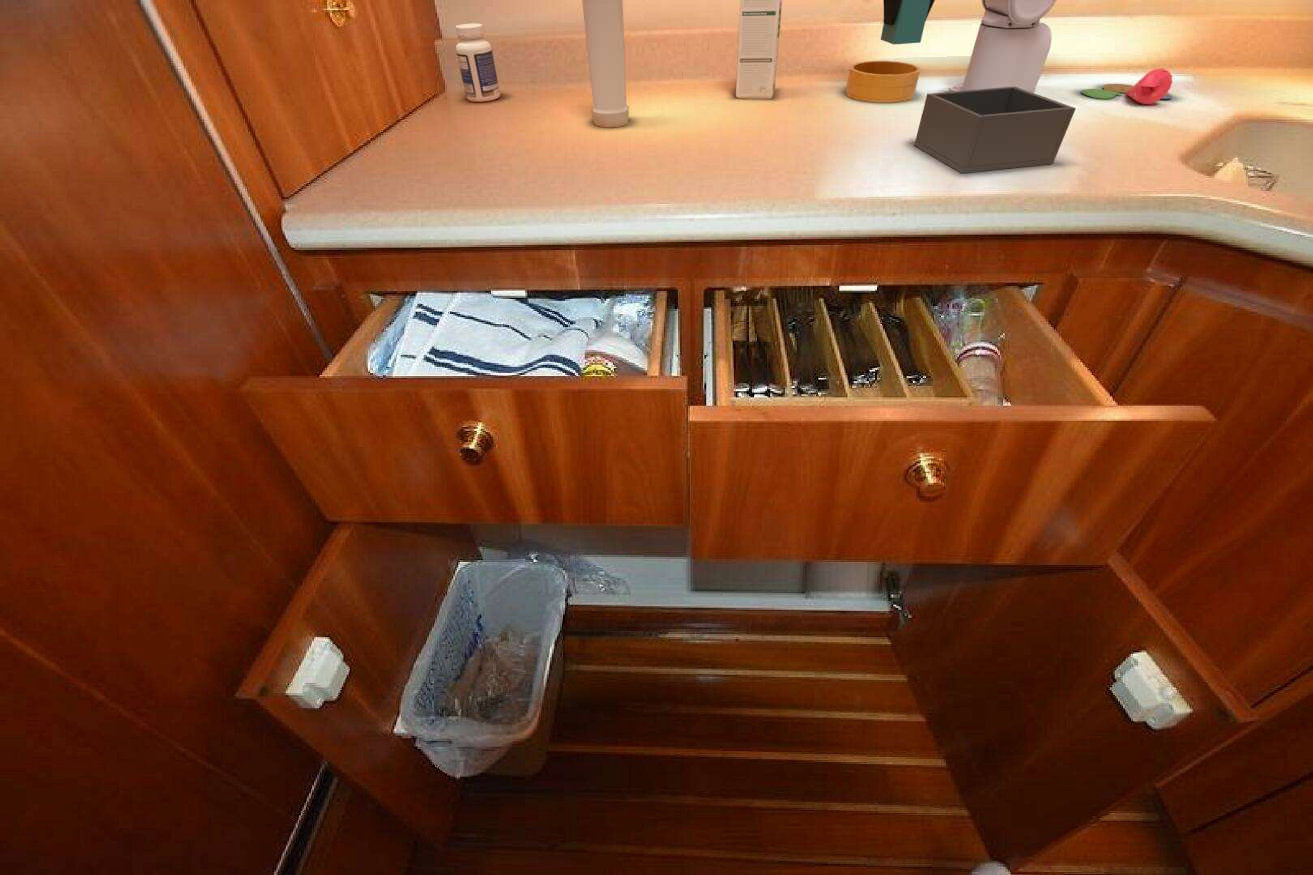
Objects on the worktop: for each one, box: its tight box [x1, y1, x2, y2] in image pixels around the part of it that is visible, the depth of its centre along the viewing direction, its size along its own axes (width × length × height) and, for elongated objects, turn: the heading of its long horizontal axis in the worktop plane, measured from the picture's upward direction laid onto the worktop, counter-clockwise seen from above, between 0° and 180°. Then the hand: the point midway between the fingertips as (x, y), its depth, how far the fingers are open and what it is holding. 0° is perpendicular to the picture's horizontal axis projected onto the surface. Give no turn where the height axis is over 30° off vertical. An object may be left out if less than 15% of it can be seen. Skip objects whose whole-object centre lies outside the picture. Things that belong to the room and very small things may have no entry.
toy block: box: [880, 0, 930, 46], centre depth 80 cm, size 4×4×6 cm
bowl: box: [845, 60, 922, 104], centre depth 88 cm, size 10×10×4 cm
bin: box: [913, 86, 1077, 174], centre depth 66 cm, size 11×10×6 cm
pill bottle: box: [455, 22, 501, 103], centre depth 91 cm, size 5×5×10 cm
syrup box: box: [735, 0, 783, 100], centre depth 87 cm, size 6×6×14 cm
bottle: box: [581, 0, 630, 128], centre depth 74 cm, size 5×5×25 cm
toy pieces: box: [1080, 67, 1173, 105], centre depth 84 cm, size 12×11×4 cm
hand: (904, 23), depth 81 cm, fingers closed on toy block, 4 cm apart
